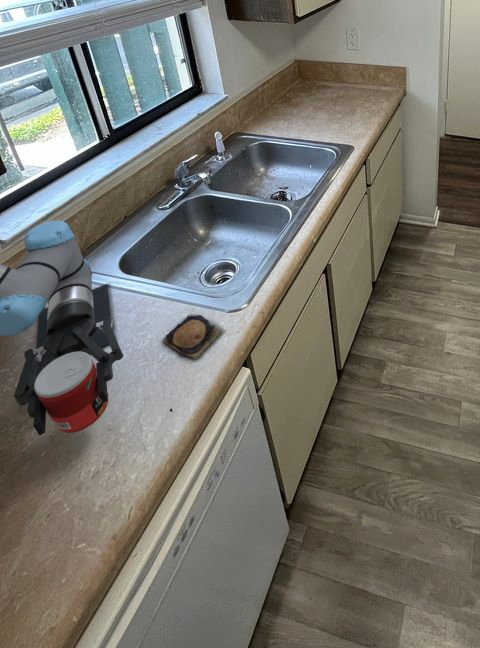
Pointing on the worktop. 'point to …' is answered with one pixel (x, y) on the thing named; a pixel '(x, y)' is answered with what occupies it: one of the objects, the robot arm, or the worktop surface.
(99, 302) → the mat
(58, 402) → the canned food
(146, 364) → the worktop surface
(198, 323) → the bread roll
